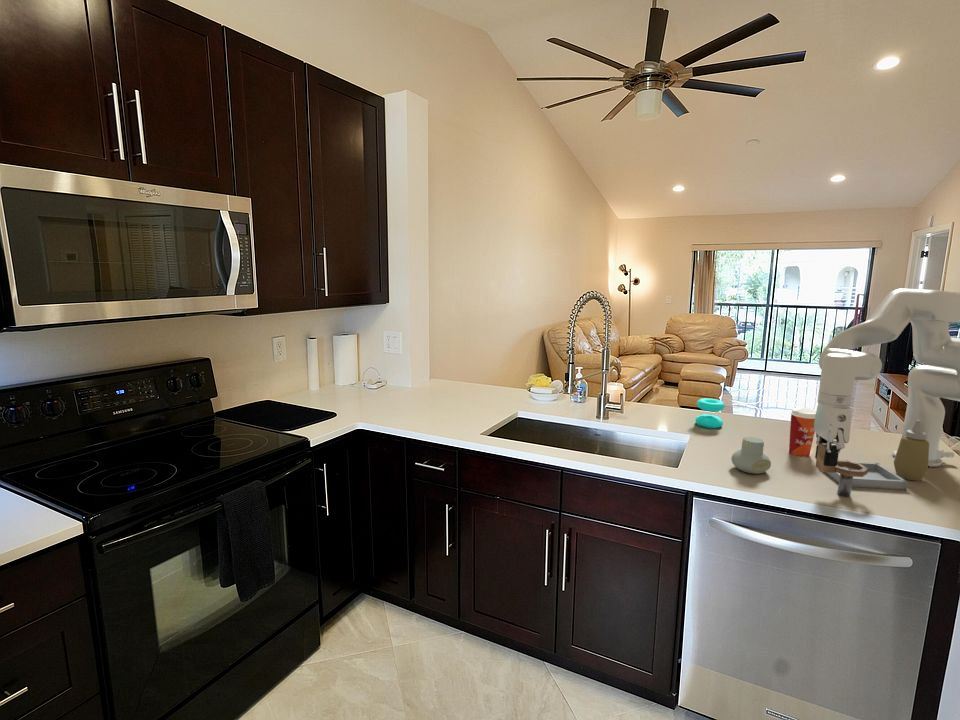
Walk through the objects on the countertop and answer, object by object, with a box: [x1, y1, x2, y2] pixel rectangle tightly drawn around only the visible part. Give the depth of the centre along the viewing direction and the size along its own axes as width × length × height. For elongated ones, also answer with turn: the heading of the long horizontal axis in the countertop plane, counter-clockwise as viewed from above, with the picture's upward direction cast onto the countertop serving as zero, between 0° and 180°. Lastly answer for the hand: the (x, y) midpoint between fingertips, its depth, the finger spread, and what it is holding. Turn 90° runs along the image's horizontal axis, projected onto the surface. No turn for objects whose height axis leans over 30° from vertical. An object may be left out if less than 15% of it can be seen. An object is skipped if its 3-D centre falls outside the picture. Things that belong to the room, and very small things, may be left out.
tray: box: [824, 461, 909, 491], centre depth 156 cm, size 17×14×2 cm
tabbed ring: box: [815, 443, 868, 477], centre depth 144 cm, size 12×8×7 cm
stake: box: [836, 466, 853, 498], centre depth 145 cm, size 3×4×7 cm
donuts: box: [695, 397, 726, 429], centre depth 204 cm, size 10×10×10 cm
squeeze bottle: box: [893, 420, 929, 482], centre depth 156 cm, size 8×8×18 cm
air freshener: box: [731, 436, 772, 475], centre depth 161 cm, size 11×8×10 cm
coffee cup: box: [788, 407, 816, 457], centre depth 175 cm, size 8×8×15 cm
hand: (825, 461), depth 145 cm, fingers closed on tabbed ring, 3 cm apart
